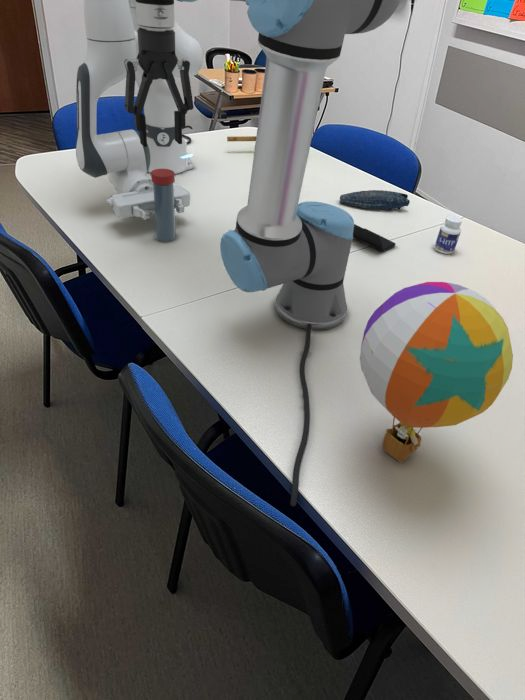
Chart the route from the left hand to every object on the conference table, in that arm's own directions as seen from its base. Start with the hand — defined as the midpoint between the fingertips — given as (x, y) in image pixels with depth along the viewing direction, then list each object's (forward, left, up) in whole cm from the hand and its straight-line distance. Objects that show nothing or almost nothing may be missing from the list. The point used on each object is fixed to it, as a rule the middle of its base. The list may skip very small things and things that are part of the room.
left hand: (164, 213), depth 130 cm
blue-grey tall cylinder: (0, 0, -7) cm, 7 cm away
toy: (+74, +36, -7) cm, 83 cm away
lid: (0, 0, +10) cm, 10 cm away
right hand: (0, 0, +17) cm, 17 cm away
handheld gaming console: (+4, +54, -7) cm, 54 cm away
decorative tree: (-68, +38, -7) cm, 78 cm away
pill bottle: (+7, +74, -7) cm, 75 cm away
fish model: (-21, +63, -7) cm, 67 cm away
